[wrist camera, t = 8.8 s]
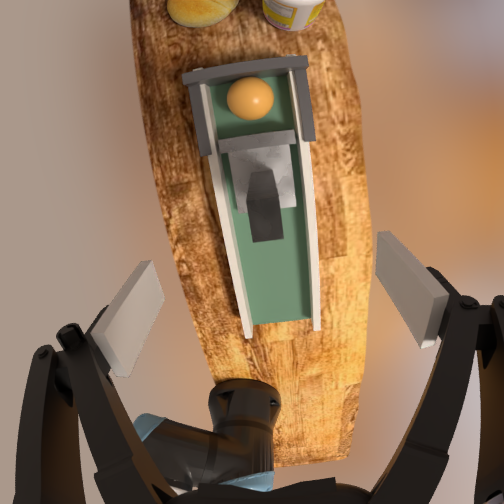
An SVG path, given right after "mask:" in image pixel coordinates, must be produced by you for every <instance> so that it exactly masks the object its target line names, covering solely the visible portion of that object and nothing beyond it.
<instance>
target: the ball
mask: <svg viewBox="0 0 504 504" xmlns="http://www.w3.org/2000/svg"><path fill="white" fill-rule="evenodd" d="M273 103H274V94H273V91H272V89H271V87H270V86H269V84H268V83H267V82H265V81H264V80H262V79H260V78H257V77H244V78H241V79H239V80H237V81H236V82H234V83H233V84H232V85H231V87H230V88H229V90H228V93H227V104H228V107H229V109H230V110H231V112H232V113H233V114H234V115H236V116H237V117H239V118H241V119H244V120H257V119H260V118H262V117H264V116H265V115H266V114H267V113H268V112H269V111H270V110H271V108H272V106H273Z"/></svg>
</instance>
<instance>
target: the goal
mask: <svg viewBox="0 0 504 504" xmlns="http://www.w3.org/2000/svg"><path fill="white" fill-rule="evenodd" d="M308 67H309V64H308V58H307V55H304V56H288V57H277V58H267V59H259V60H251V61H244V62H238V63H232V64H226V65H220V66H215V67H210V68H206V69H201V70H197V71H192V72H188V73H184V74H182V80H183V85H185V86H187V87H188V89H189V95H190V101H191V106H192V112H193V118H194V124H195V129H196V135H197V140H198V146H199V151H200V156H201V157H202V156H207V155H212V151H211V145H210V140H209V134H208V128H207V123H206V117H205V111H204V105H203V99H202V93H201V87H200V85H202V84H206V85H207V86H209V87H212V86H217V85H222V84H228V83H234V82H236V81H237V80H239V79H241V78H244V77H257V78H260V79H261V78H269V77H278V76H287V75H288V73H289V71H294V74H295V80H296V86H297V93H298V99H299V106H300V113H301V120H302V128H303V136H304V142H309V141H316V137H315V129H314V121H313V113H312V106H311V99H310V92H309V86H308V80H307V73H306V69H307V68H308Z"/></svg>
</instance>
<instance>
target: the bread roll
mask: <svg viewBox="0 0 504 504" xmlns="http://www.w3.org/2000/svg"><path fill="white" fill-rule="evenodd" d="M238 2H239V0H168V1H167V10H168V13H169V14H170V16H171V18H172V19H173V20H174V21H175V22H177V23H178V24H180V25H182V26H186V27H206V26H210V25H213V24H216V23H218V22H219V21H221V20H223V19H224V18H226V17H227V16H228V15H229V13H230V12H231V11H232V10H233V9H234V8H235V7H236V6H237V4H238Z"/></svg>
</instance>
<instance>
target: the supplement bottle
mask: <svg viewBox="0 0 504 504" xmlns="http://www.w3.org/2000/svg"><path fill="white" fill-rule="evenodd" d="M325 1H326V0H263V13H264V15H265V17H266V19H267V20H268V21H269V22H270V23H271V24H272V25H274V26H275V27H277V28H279V29H282V30H286V31H299V30H303V29H305V28H307V27H309V26H310V25H311V24H312V23H313V22H314V21H315V19H316V17H317V16H318V14H319V12H320V10H321V8H322V6H323V4H324V3H325Z"/></svg>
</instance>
